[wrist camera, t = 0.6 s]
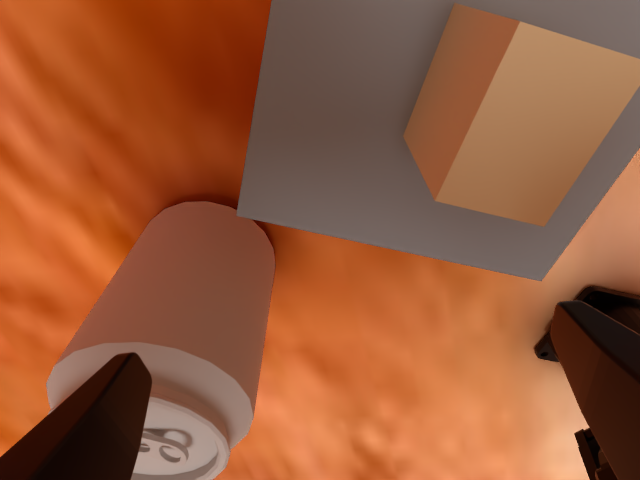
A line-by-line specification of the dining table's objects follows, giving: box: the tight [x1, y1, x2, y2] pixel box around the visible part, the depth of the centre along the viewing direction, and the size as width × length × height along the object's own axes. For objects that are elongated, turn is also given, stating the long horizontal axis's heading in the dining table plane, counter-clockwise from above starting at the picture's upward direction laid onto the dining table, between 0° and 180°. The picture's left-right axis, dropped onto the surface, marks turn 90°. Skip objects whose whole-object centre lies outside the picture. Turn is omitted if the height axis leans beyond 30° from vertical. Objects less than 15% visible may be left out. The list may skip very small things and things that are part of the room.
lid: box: [236, 0, 640, 281], centre depth 11 cm, size 13×13×6 cm
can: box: [46, 201, 276, 480], centre depth 19 cm, size 8×8×12 cm
